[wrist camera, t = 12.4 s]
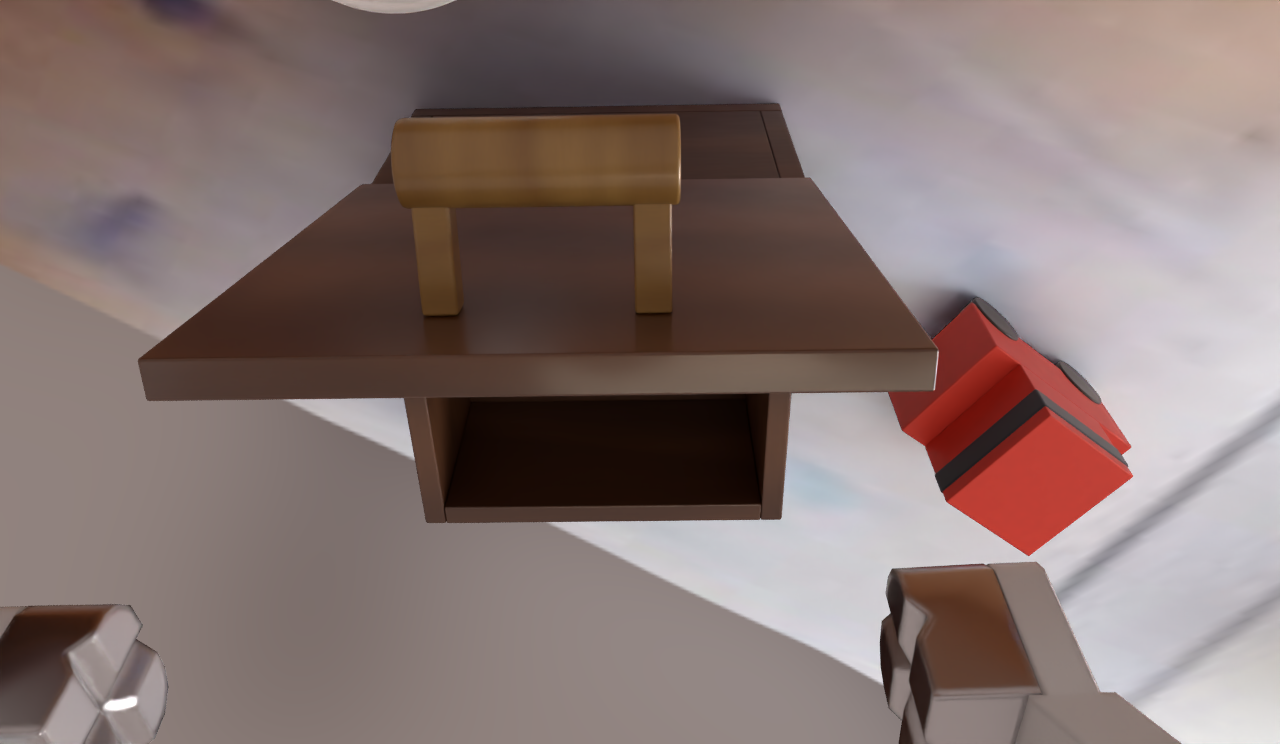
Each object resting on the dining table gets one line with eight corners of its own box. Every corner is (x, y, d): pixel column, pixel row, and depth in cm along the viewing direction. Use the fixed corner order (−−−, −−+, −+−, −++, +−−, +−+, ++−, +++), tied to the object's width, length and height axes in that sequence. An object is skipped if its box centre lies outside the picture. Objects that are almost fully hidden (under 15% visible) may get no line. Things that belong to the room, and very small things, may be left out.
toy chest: (761, 402, 44) (781, 520, 38) (457, 406, 45) (425, 524, 38) (779, 103, 37) (808, 184, 30) (414, 109, 37) (365, 191, 31)
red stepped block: (876, 369, 43) (919, 487, 37) (965, 285, 41) (1028, 394, 34) (1001, 456, 46) (1062, 581, 39) (1091, 382, 44) (1172, 501, 37)
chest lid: (935, 392, 17) (963, 131, 15) (145, 402, 17) (87, 144, 15) (809, 203, 30) (816, 51, 29) (364, 210, 30) (345, 59, 29)
